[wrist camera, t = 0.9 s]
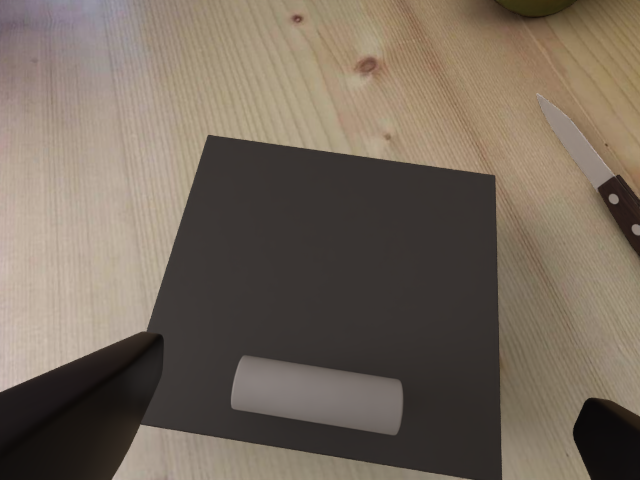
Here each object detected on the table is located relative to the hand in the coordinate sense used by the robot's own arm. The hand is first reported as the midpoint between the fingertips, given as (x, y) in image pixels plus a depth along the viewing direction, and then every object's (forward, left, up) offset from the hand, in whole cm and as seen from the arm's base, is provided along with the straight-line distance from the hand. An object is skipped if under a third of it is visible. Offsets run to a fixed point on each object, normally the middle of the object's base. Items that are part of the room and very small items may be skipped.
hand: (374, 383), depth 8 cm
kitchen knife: (+14, -16, -14) cm, 25 cm away
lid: (+4, +1, -9) cm, 10 cm away
